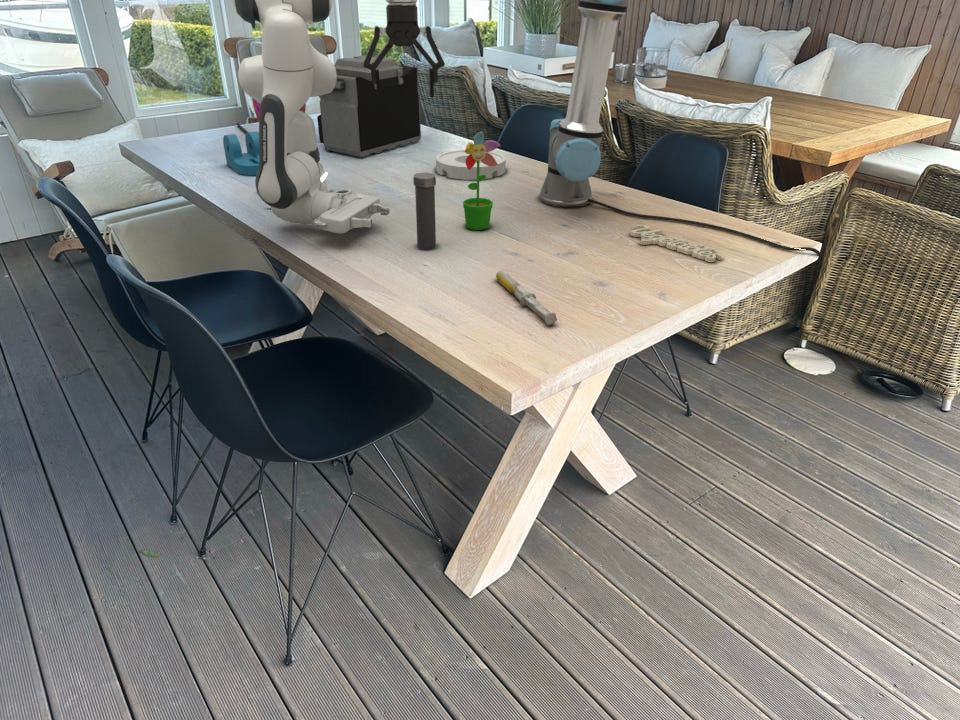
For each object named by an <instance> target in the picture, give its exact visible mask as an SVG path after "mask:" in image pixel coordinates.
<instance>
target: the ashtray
mask: <svg viewBox="0 0 960 720" xmlns="http://www.w3.org/2000/svg"><path fill="white" fill-rule="evenodd" d="M486 153H489V154H491V155H492V156H493V157H494V159H495V160H496V162H497V164H498V165H495V166H487V165H485V164H484V163H482V161H481V160H480V162H479V176H481V175H485V176H486V177H485V179H484V180H488V179H492V178H493V177H500V176H503V174H505V173H506V159H507V158H506V157H505V155H503V154H502V153H498V152H495V151H490V152H486ZM469 155H470V154H467V153H465V149H456V150H455V149H454V150H449V151H445V152H441V153H440V154H437V155H436V157H435V163H436V164H435V168H436V169H435V170H436V173H437V174H438V175H440V176H446V177H447V178H449V179H456V180H465V181H477V161H476V163H475V165H474V166H473V167H472V168H471V169H470V170H468V168H467V166H466V163H465V161H466V158H467V157H468V156H469Z"/></svg>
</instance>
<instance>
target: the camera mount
mask: <svg viewBox="0 0 960 720" xmlns="http://www.w3.org/2000/svg"><path fill="white" fill-rule="evenodd" d="M222 140H223V141H222V143H223V149H224V150H223V151H224V156H225V161H226V165H227V166H228V167H230V168H231V169H232V170H234V171H236V172H237V173H238V174H239V175H244V176H256V175H257V172H258V168H259V131H247V133H245V146H246V152H243V151H242V150H243V149H242V146H241V142H240V140H239V138H238V135H236V134H235V133H231V134H224V135H223V138H222Z"/></svg>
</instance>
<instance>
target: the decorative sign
mask: <svg viewBox="0 0 960 720" xmlns="http://www.w3.org/2000/svg"><path fill="white" fill-rule="evenodd" d="M650 229H651V227H650V226H648V225H644V224H637V225H636V229H632V230H631V231H630V236H631V237H634V238H640V245H643V246H644V245H646V246H647V245H658V246H660V247H666V248H667V249H669V250H671V251H677V252H678V253H682V254H685V255H691V256H692V257H693V258H697V259H699V260H704V261H705V262H709V263H714V262H716V260H719V261H720V260H721V259H722V254H721V253H718V252H715V250H716V249H715V248H714V247H705V245H706V244H700V243H699V244H690V243H689V241H688V240H686V239H682V238H681V239H680V238H677V237H673V238H671V237H667V236H663V235H662V234H663V230H662V229H652V230H650Z"/></svg>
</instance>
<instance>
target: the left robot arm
mask: <svg viewBox="0 0 960 720" xmlns="http://www.w3.org/2000/svg"><path fill="white" fill-rule="evenodd" d="M231 4H232V5H233V7H234V9H235V12H236V14H237V15H238V16H239V17H240V18H241V19H242V20H243V21H245V22H246V23H249V24H250V25H251V27H252V29H253V30H256V22H258V23H260V26H261V54H258V55H254V56H249V57H246V58H243V59H242V61H241V62H240V64H239V67H238V69H237V70H238V71H237V78H238V83H239V85H240V87H241V89H242V90H243V92H244V93H245V94H246V95H247V96H248V97H250V98H251V99H252V98H253V99H255V100H256V101H257V102H258V103H259V104H260V112H259V121H258V133H259V168H258V172H257V175H255V180H254V181H255V182H254V183H255V190H256V192H257V195H258V196H259V198H260V199H261V200H262V201H263V203H265V204H266V205H268V206H269V207H270V210H271V212H272V213H273V215H274V216H275V217H277V218H278V219H280V220H282V221H284V222H287V223H292V224H298V225H302V226H303V225H304V226H306V225H307V226H308V225H312V226H315V227H318V228H320V229H321V230H322V231H324V232H330V233H334V234H339V235H340V234H346V233H348V232H349V231H350V230H352V229H356V228H370V227H372V226H373V219H372V218H370V217H372V216H373V215H375V214H380V216H388V215H389V214H390V212H391V211H390V207H389V206H383V205H381V200H380V197H378V196H377V195H372V194H367V193H360V192H352V190H350V189H343V190H338V191H331V187H329V186H328V184H327V179H326V177H328V172H327V171H326V172H325V168H324V165H323V164H321V162H320V161H321V157H320V155H321V154H320V151H319V150H320V149H319V147H318V146H317V137H316V136H317V135H316V127H315V126H316V125H315V122H314V120H313V118H312V117H311V116H310V115H309V114H308V113H306V112H305V113H304V112H302V111H300V109H301V108H302V106H303V105H304V104H305V103H306V104H307V102H308V101H309V99H310V98H315V97H319V96H321V95H325V94H328V93H331V92H332V91H333V89H334V87H335V85H336V81H337V73H336V69H335V66H334V65H335V63H333V62H332V60H331V59H330V58H329V56H327V55H325V54H323V53H322V52H320V51H318V50H317V49H316V48H315V47H314V45H312V43H311V40H310V35H309V31H308V23H309V22H312V23H313V24H314V23H315V24H316V23H320V22H324V21H326V20H327V19H328V18H329V16H330V13H331V10H332V7H333V6H332V5H333V0H231ZM236 126H237V127H238V128H239V129H240V130H241V131H242V132H243V133H244V134H246V133H247V132H248V130H246V129H245V128H244V127H243V126H242V125H241V124H240V123H239V122H236Z"/></svg>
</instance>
